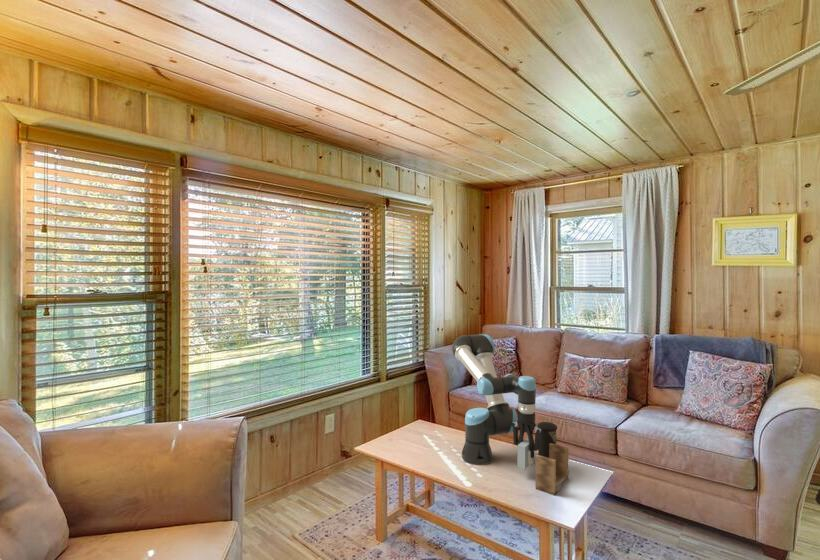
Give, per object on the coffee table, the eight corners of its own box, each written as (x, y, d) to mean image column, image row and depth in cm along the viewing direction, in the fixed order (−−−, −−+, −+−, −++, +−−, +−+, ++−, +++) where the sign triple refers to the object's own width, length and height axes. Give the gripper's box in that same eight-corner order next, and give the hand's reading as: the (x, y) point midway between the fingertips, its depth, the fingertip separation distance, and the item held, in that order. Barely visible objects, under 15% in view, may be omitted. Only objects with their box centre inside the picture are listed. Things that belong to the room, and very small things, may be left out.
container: (558, 470, 187) (558, 427, 187) (538, 469, 189) (538, 426, 189) (555, 462, 196) (555, 420, 196) (536, 460, 198) (536, 419, 197)
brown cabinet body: (535, 488, 172) (535, 455, 171) (549, 473, 185) (549, 442, 185) (555, 495, 166) (555, 461, 166) (569, 479, 179) (569, 447, 179)
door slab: (516, 466, 182) (516, 444, 182) (525, 458, 190) (525, 437, 189) (524, 469, 179) (525, 447, 179) (533, 461, 187) (534, 439, 187)
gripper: (505, 409, 186) (505, 460, 187) (541, 418, 175) (540, 471, 176) (513, 405, 192) (512, 454, 193) (547, 413, 181) (547, 465, 182)
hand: (525, 462), depth 184 cm, fingers closed on door slab, 3 cm apart
